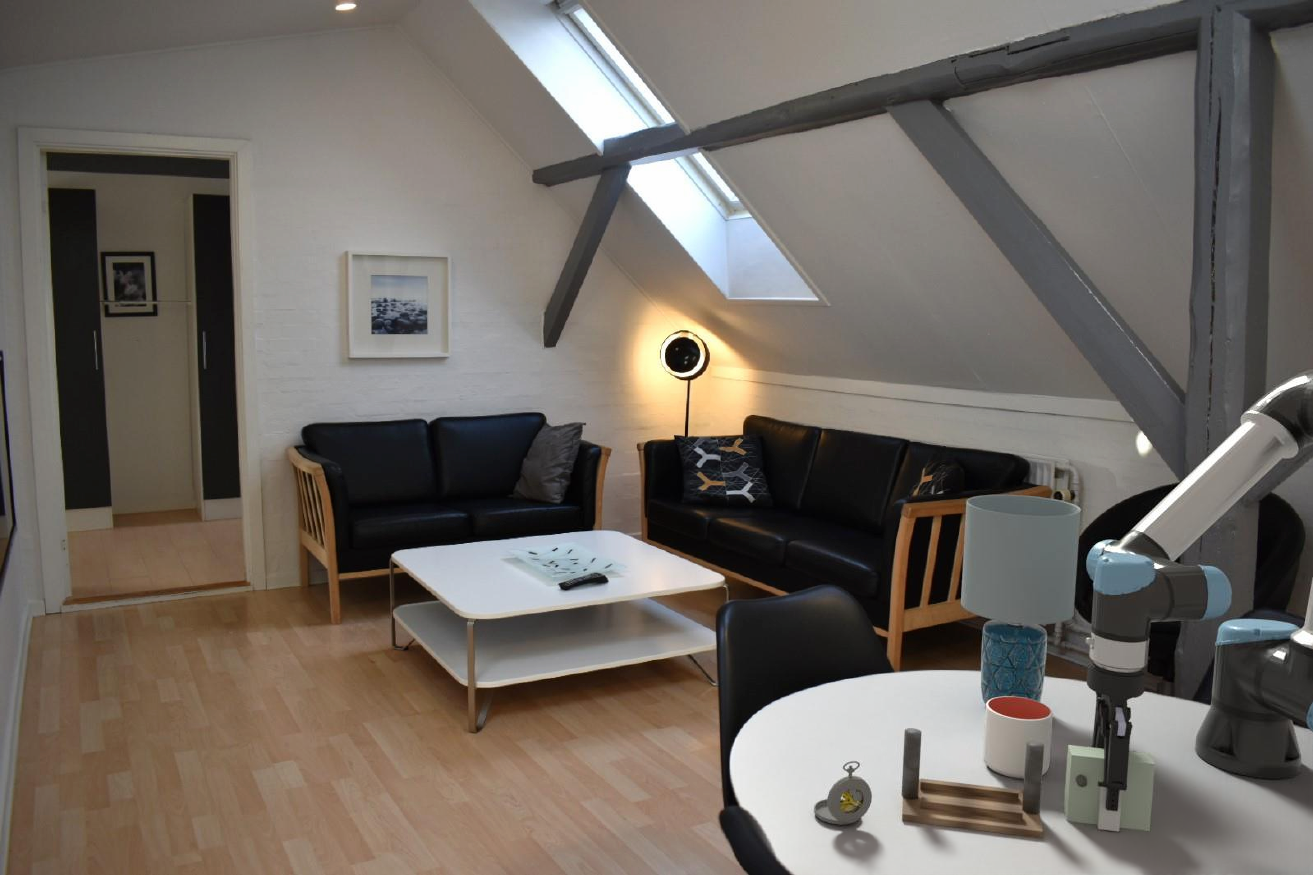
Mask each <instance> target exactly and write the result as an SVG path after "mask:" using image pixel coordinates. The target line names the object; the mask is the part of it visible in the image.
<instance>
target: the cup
mask: <svg viewBox="0 0 1313 875" xmlns="http://www.w3.org/2000/svg"><path fill="white" fill-rule="evenodd" d="M1053 716H1054V713H1053V710H1052V708H1051V707H1049V706H1048V705H1046V704H1045V703H1043V702H1041V701H1040V702H1038V701H1035V700H1032V699H1028V698H1023V697H1014V696H1002V697H996V698H992V699H990V700H989V701H988V702H987V703H986V704H985V717H984V720H985V721H984V736H983V751H982V752H983V753H982V754H983V755H982V756H983V761H984V763H985V764H986V766H987V767H988V768H990V769H991V770H992V771H994V772H996V773H998V774H1000V775H1002V776H1006V777H1009V778H1015V779H1023V780H1024V771H1025V756H1026V743H1027V742H1028V741H1037V742H1040V743H1042V744H1043V745H1044V754H1043V769H1042V776H1043V775H1044V774H1046V773H1047V771H1048V770H1049V768H1050V760H1051V744H1052V730H1053Z"/></svg>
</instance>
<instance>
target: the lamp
mask: <svg viewBox="0 0 1313 875" xmlns="http://www.w3.org/2000/svg"><path fill="white" fill-rule="evenodd" d="M965 504H966V506H965V519H964V520H965V521H964V538H963V539H964V540H963V541H964V542H963V543H964V544H963V556H962V557H963V559H962V560H963V561H962V578H961V579H962V580H961V592H960V594H961V596H960V597H961V598H960V605H961V606H962V608H963V609H965V610H966V611H968V612H970V613H971V614H974V615H976V616H979V617H982V618H986V619H989V620H988V621H987V622H985V623H984V625H983V627H982V640H981V658H980V660H981V662H980V689H981V690H980V692H981V698H982V700H983V702H984V705H986V703H987V702H988V701H989V700H990V699H992V698H996V697H1002V696H1014V697H1023V698H1028V699H1032V700H1035V701H1038V702H1041V701H1042V695H1043V690H1044V689H1043V688H1044V682H1045V681H1044V680H1045V672H1046V661H1047V646H1048V632H1047V630H1046V629H1045V628H1044V627H1043V626H1041V625H1052V624H1059V623H1064V622H1066V621H1069V620H1071V619H1073V617H1074V614H1075V613H1074V610H1075V599H1076V597H1075V596H1076V583H1077V582H1076V581H1077V570H1078V569H1077V568H1078V555H1079V554H1078V553H1079V540H1080V525H1081V511H1082V510H1081V509H1082V508H1080V507H1079V506H1078V505H1076V504H1073V503H1071V502H1067V501H1064V500H1060V499H1053V498H1049V497H1048V498H1047V497H1041V496H1034V495H1033V496H1031V495H1021V494H986V495H977V496H972V497H970V498H968V499H967V500H966V503H965Z"/></svg>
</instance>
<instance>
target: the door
mask: <svg viewBox="0 0 1313 875" xmlns="http://www.w3.org/2000/svg"><path fill="white" fill-rule="evenodd" d="M1155 769H1156V763H1155V761H1154V759H1153V757H1152V755H1151V753H1148V752H1147V753H1146V752H1138V751H1135V752H1134V751H1130V750H1129V760H1128V774H1127V790H1126V791H1124V790H1122V802H1121V814H1120V826H1119V828H1123V829H1131V830H1139V831H1145V832H1146V831H1147V832H1150V828H1151V818H1152V817H1151V816H1152V803H1153V793H1154V791H1153V790H1154V781H1155V780H1154V779H1155V771H1156V770H1155ZM1065 774H1066V775H1065V782H1064V783H1065V785H1064V798H1063V799H1064V800H1063V813H1064V815H1065V819H1066V821H1067V822H1073V823H1080V824H1081V823H1082V824H1090V825H1097V826H1098V816H1099V803H1100V791H1101V787H1099V786H1098V781H1099V782H1103V780H1104V749H1101V748H1092V746H1081V745H1072V744H1068V745H1067V758H1066V771H1065Z"/></svg>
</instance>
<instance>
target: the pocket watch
mask: <svg viewBox="0 0 1313 875" xmlns="http://www.w3.org/2000/svg"><path fill="white" fill-rule="evenodd" d="M853 763H855V764H857V766H856V767H853V766H852V765H849V764H853ZM860 764H861V763H860V762H858V761H856V760H851V761H848V762H846V763H844V765H843V766H842V770H843V771H846V772H847V773H848V776H847V775H846V776H844V777H842V778H840V779H839V780H838V781H836V782H835V783H834V784H833V785H832V787H831V788H830V789H829V792H828V795H827V798H826V799H822V800H819V801H817V802H816V803H815V804H814V806H813V813H814V814H815V816H816V817H817V818H818V819H820V820H821V821H822V822H823V821H824V822H826V823H828V824H832V825H841V826H842V825H849V824H854V823H855V822H857V821H859V820H860V819H862V817H864V816H865V815H866V813H868V810H869V809H870V807H871V804H872V799H873V793H872V790H871V787H870V786H869V783H867V781H866V779H863V778H862V777H861V776H857V775H853V773H855V771H856V770H857V769H858V768H859V767H860V766H861V765H860ZM847 765H849V766H848V768H845V767H847Z"/></svg>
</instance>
